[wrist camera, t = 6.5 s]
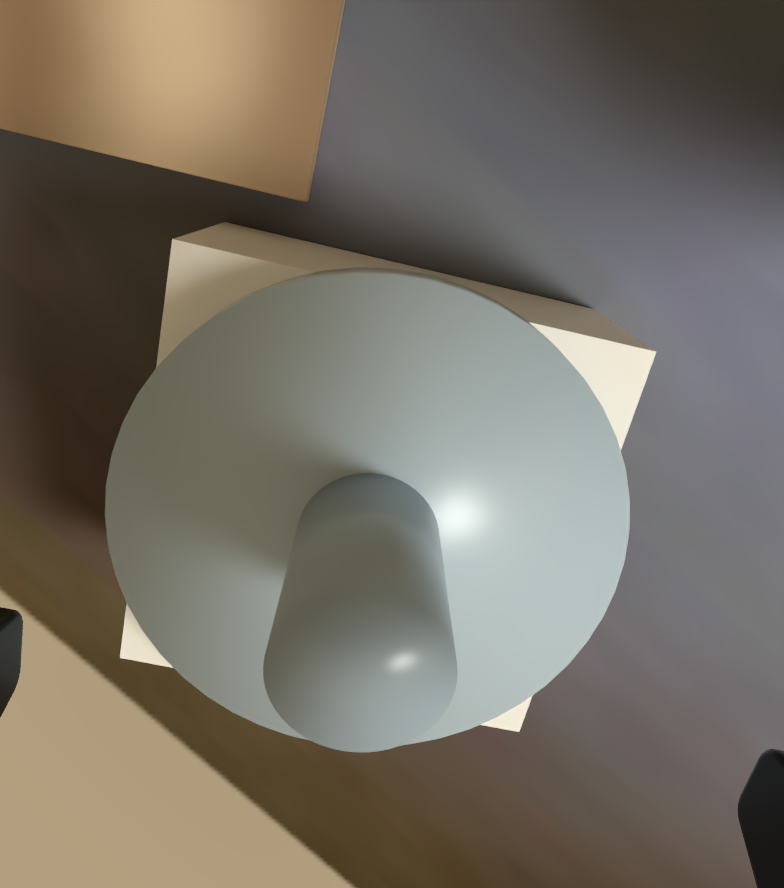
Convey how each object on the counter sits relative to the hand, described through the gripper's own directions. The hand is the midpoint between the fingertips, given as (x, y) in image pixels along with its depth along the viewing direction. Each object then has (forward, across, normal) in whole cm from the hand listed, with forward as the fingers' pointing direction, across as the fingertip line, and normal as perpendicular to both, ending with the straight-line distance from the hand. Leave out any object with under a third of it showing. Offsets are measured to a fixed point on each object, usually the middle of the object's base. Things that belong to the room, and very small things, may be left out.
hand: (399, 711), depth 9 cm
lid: (+8, 0, +1) cm, 8 cm away
